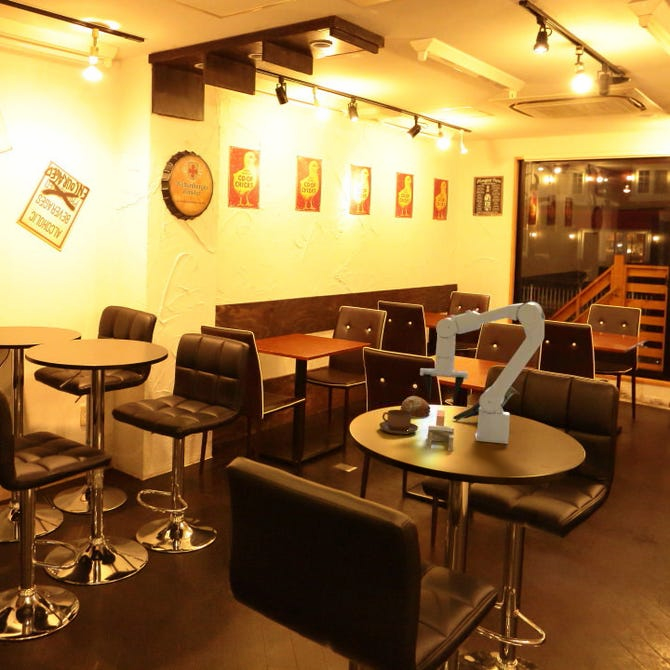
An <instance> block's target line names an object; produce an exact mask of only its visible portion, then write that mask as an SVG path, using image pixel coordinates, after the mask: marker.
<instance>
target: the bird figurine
mask: <svg viewBox="0 0 670 670" xmlns="http://www.w3.org/2000/svg"><path fill="white" fill-rule="evenodd" d="M514 394H516V395H521V393H520V392H519V391H518V390H516V389H515V388H514V387H513V386H512V385H511V386H510V387H509V389H508V390H507V392H506V393H505V397H504V401H503V403H502V404H501V405H500V406H501V407H502V408H503V407H504V406H505V405H506V404H507V402H508V400H510V398H511V397H512V396H513V395H514ZM479 407H481V406H480V404H479V401H478V402H476V403H475V404H474V405H473V406H471V407H469V408H468V409H466V410H463V411H462V412H460V413H458V414H456V415H455V416H452V419H453V420H454V421H455V422H458V421H460V420H462V419H465V420H466V419H468V418H471V417H478V416H479Z"/></svg>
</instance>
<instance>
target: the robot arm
mask: <svg viewBox="0 0 670 670" xmlns="http://www.w3.org/2000/svg"><path fill="white" fill-rule="evenodd" d="M545 318H546V316H545V314H544V311H543V308H542V306H541V305H540V304H539V303H538V302H535V301H528V302H526V303H524V302H521V303H513V304H509V305H505V306H502V307H498V308H495V309H491V310H488V311H484V312H481V313H480V312H477V311H476V310H470V309H468V310H465V312H464V313H461V314H457V315H455V314H451V315H450V317H445V318H443V319H440V320H439V321H438V323H437V324H436V326H435V328H436V329H435V331H436V333H437V336H436V337H437V340H436V347H435V348H436V349H435V363H434V368H424V367H423V368H422V367H421V368H420V370H419V371H420V372H419V375H420V376H423V377H422V378H423V381H424V384H425V387H426V391H427V400H431V397H432V396H431V395H432V390H431V389H432V388H431V387H432V378H433V377H443V378H453V379H455V381H454V390H453V396H452V402H456V400H457V397H458V396H457V395H458V393H459V390H460V388H461V387H462V385H463V383H464V380H467V379H468V374H469V373H468V371H463V370H462V371H461V370H454V366H455V355H456V354H455V353H456V334H458V335H461V334H465V333H469V332H472V331H477V330H480V329H481V327H482V325H483V324H486V323H491V322H496V321H499V320H504V319H509V320H513V321H517V320H518V321H519V322H520V324H521V325H522V327H523V330H524V334H525V339H524V340H523V342H522V343H521V344H520V345H519V348H517V350H516V351H515V353H514V354H513V356H512V357H511V359H510V360H509V361H508V363H507V364H506V366H505V367H504V369H503V370H502V371H501V373H500V374H499V376H498V377H497V378H496V380H495V381H494V383H493V384H492V385H491V386H490V387H488V388H486V390H485V391H484V392H483V393H482V394H481V395H480V397H479V398H478V402H479V404H480V406H481V407H479V415H477V417H478V419H477V428H476V429H477V430H476V432H475V435H474V436H475V437H474V438H475V441H477V442H486V443H498V444H506V445H507V444H509V436H510V416H511V415H510V412H509V411H504V409H503V407H501V406H500V405H501V404H502V403H503V401H504V397H505V393H506V392H507V390H508V389H509V387H510V386H511V387H512V384H513V383H514V382H515V380H516V379H517V378H518V376H520V374H521V372H522V371H523V370H524V368H525V366H526V365H527V364H528V363H529V361H530V360H531V358H532V357H533V355H534V354H535V353H536V352H537V349H538V348H539V347H540V346H541V344H542V343H543V341H544V339H545Z"/></svg>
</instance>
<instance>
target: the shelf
mask: <svg viewBox="0 0 670 670" xmlns="http://www.w3.org/2000/svg"><path fill="white" fill-rule="evenodd" d="M427 427H428V430H427V439H426V450H431V449H432V443H433V441H436V442H437V441H438V442H445V443H447V442H448V449H447V450H448V452H453V448H454V435H455V427H454V426H445V425H444V426H436V424H433V425H432V424H429V425H428V426H427Z"/></svg>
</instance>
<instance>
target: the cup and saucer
mask: <svg viewBox="0 0 670 670" xmlns="http://www.w3.org/2000/svg"><path fill="white" fill-rule="evenodd" d="M386 415H387V419H386V418H385V416H386ZM382 420H383V421H381V422H380V423H379V425H378V426H379V429H381V430H382V431H384V432H387V433H389V434H392V435H393V434H394V435H409V434H414V433H415V432H417V430H418V429H419V427H418V425H417V424H415V423H412V421H411V420H412V417H411V412H409V411H405V410H400V409H390V410H388V411H385V412H383V413H382ZM407 430H408V431H407Z"/></svg>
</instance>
